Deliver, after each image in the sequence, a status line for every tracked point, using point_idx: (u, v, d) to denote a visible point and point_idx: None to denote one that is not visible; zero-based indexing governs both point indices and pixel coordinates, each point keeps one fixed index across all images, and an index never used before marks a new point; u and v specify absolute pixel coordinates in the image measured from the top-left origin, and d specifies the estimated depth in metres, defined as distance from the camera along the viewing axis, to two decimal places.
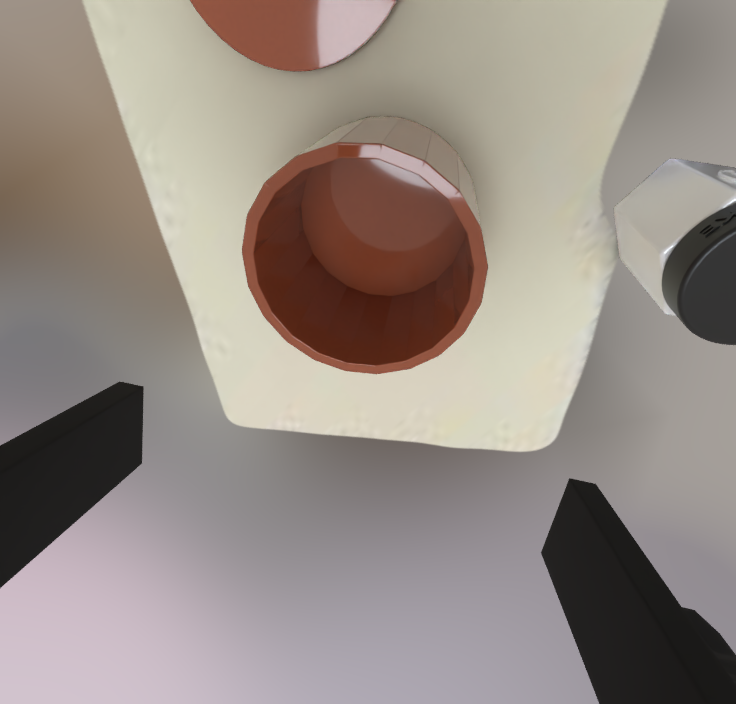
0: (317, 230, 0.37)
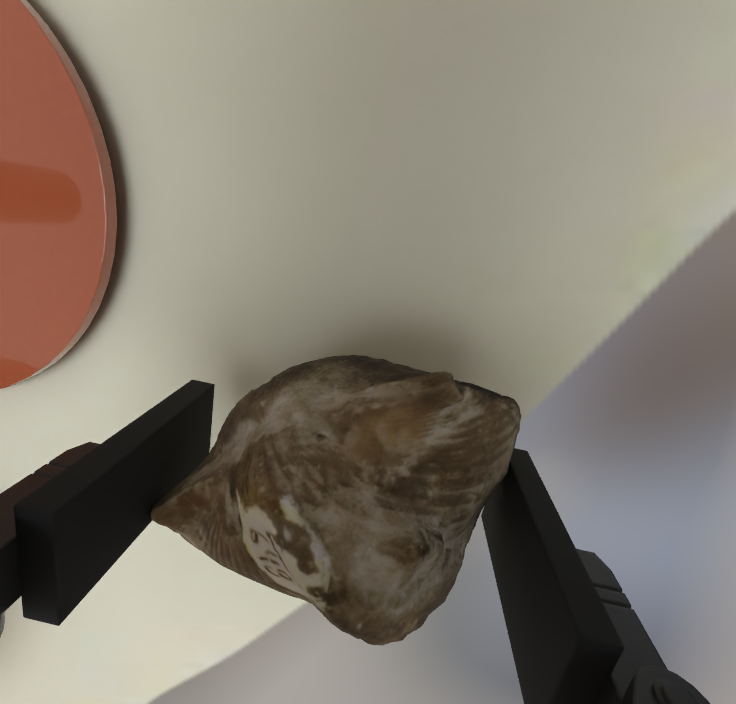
0: None
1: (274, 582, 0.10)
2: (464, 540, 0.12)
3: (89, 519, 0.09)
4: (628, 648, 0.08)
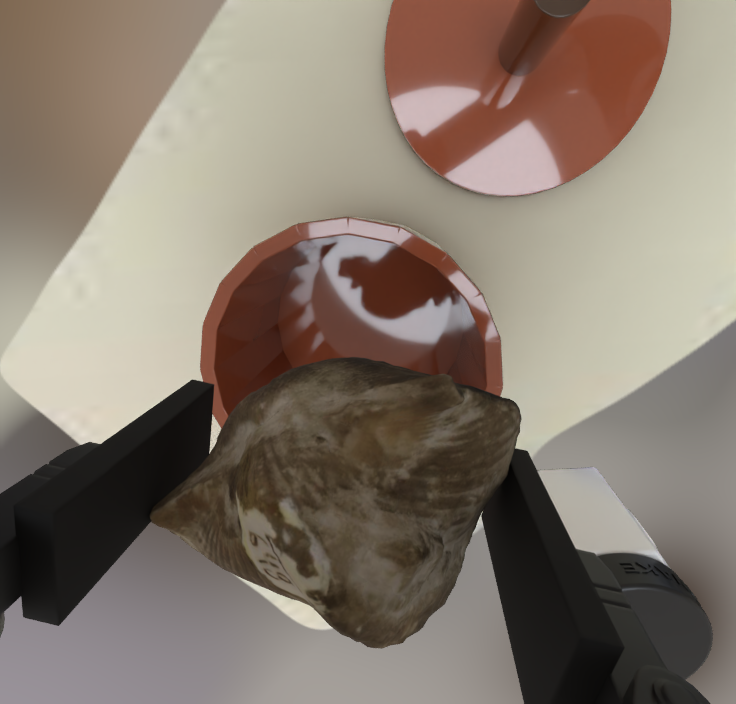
0: (305, 281, 0.32)
1: (273, 585, 0.10)
2: (464, 542, 0.12)
3: (89, 519, 0.09)
4: (628, 648, 0.08)
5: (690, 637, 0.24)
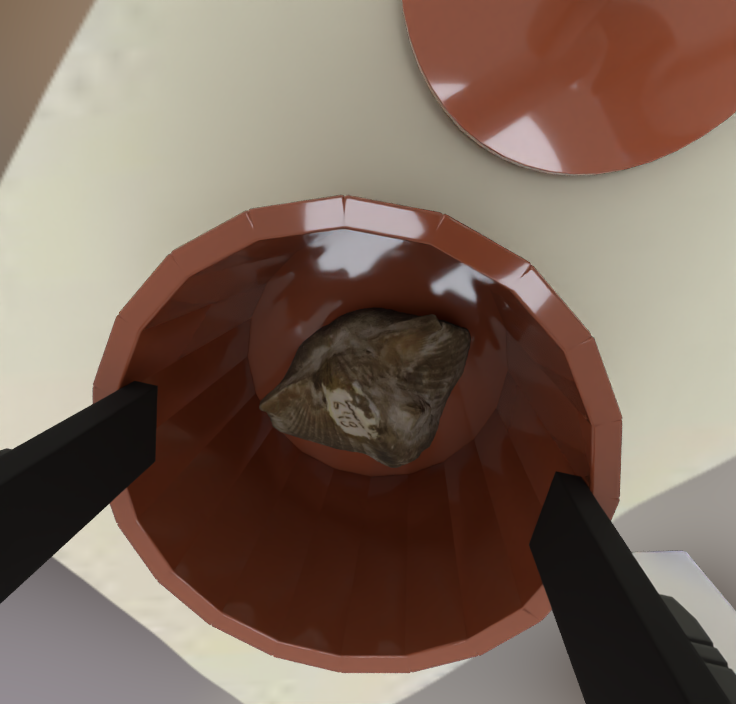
0: (284, 299, 0.23)
1: (343, 432, 0.18)
2: (439, 413, 0.21)
3: None
4: None
5: None
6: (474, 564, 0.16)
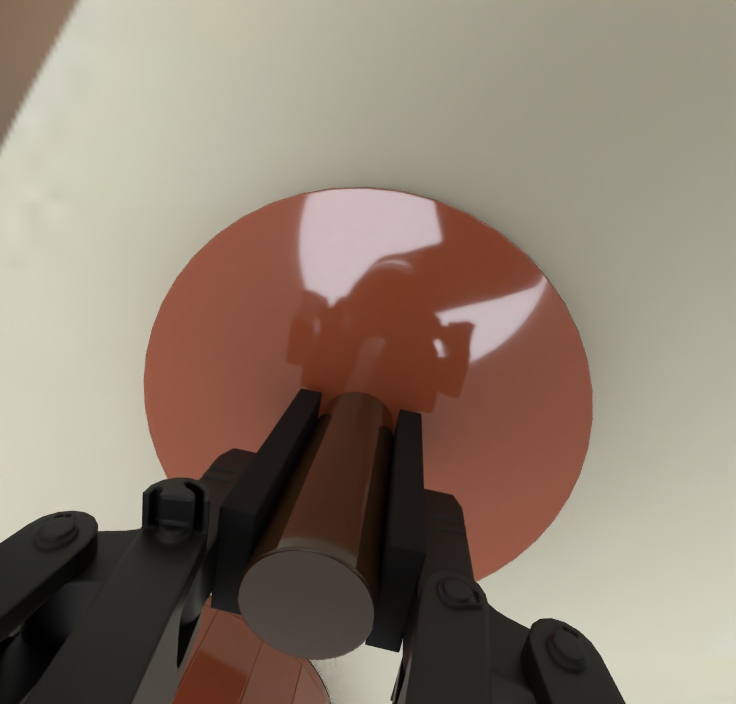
0: None
1: None
2: None
3: (266, 519, 0.10)
4: (446, 561, 0.09)
5: None
6: None
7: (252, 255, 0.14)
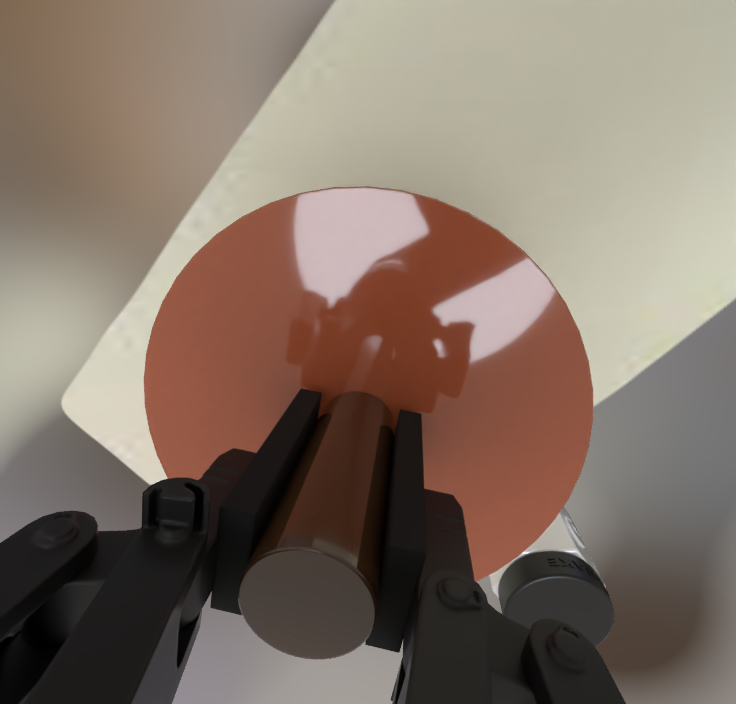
0: None
1: None
2: None
3: (266, 519, 0.10)
4: (446, 562, 0.09)
5: (597, 613, 0.32)
6: None
7: (252, 254, 0.14)
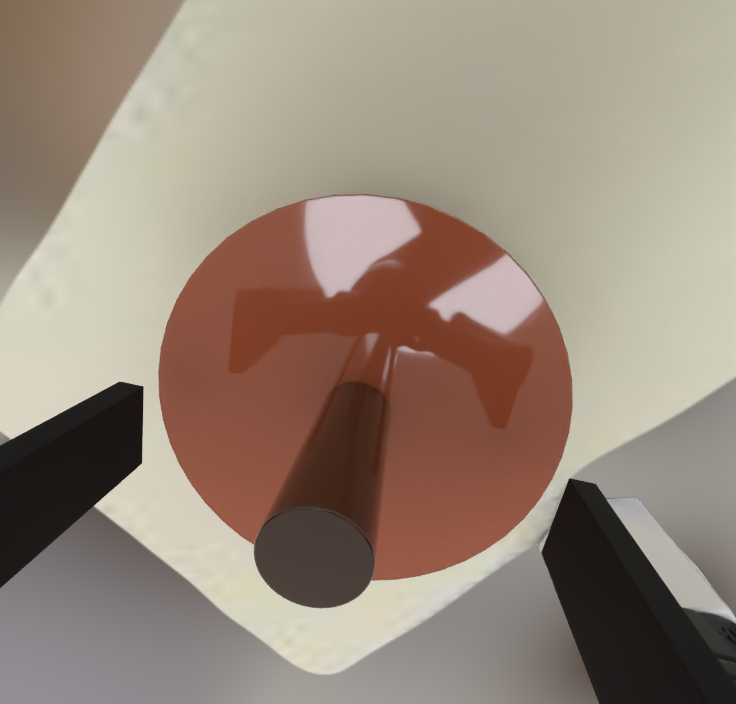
0: None
1: None
2: None
3: None
4: None
5: None
6: None
7: (260, 256, 0.16)
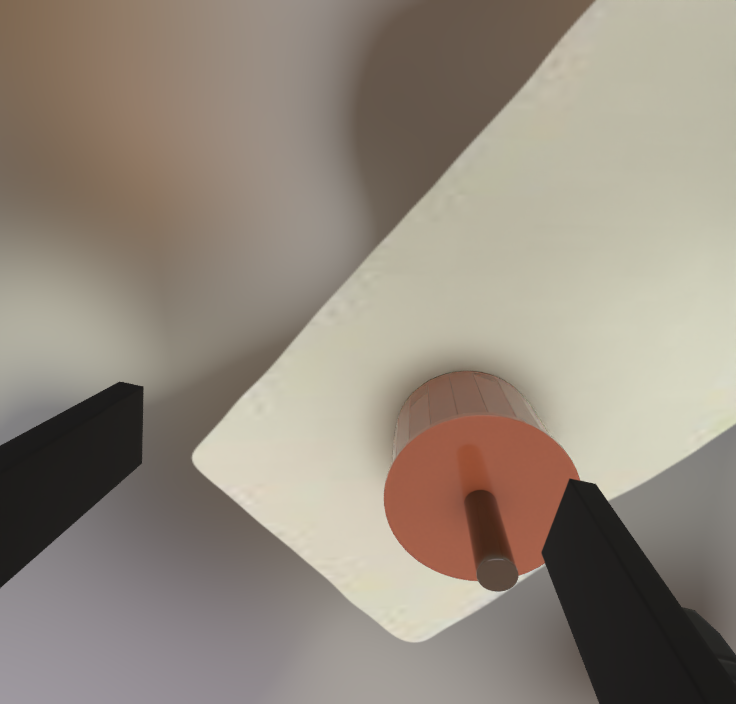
0: None
1: None
2: None
3: None
4: None
5: None
6: None
7: (442, 436, 0.35)
